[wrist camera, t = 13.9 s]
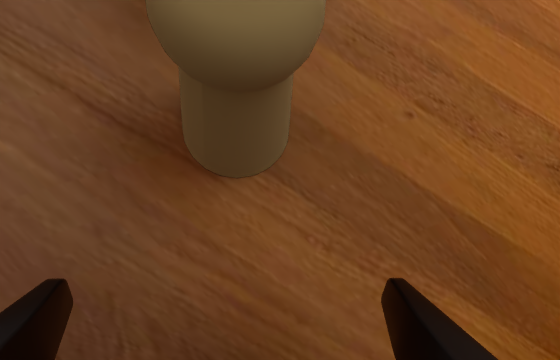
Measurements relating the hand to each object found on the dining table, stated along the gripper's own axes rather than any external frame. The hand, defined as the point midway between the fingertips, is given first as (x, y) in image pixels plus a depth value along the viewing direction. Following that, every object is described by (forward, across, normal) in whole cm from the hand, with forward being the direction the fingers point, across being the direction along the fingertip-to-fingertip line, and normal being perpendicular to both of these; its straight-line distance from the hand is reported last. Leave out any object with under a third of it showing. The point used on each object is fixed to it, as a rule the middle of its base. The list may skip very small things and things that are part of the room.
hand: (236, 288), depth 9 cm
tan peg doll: (+11, 0, 0) cm, 11 cm away
